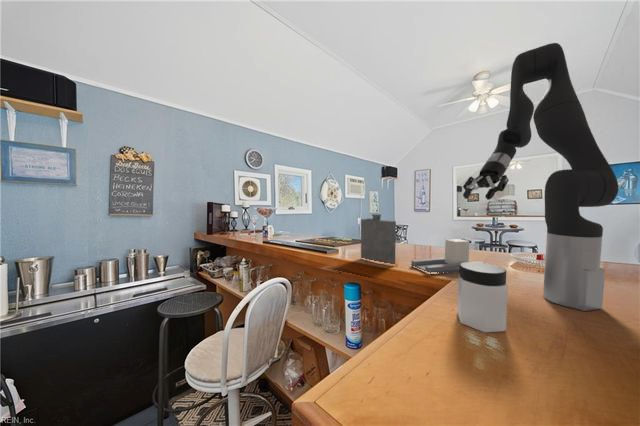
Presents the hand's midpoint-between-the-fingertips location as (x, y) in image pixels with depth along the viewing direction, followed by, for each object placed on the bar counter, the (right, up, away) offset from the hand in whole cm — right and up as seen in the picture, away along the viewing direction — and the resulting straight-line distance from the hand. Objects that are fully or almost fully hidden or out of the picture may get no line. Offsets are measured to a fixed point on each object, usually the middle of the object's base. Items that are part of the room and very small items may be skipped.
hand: (475, 197), depth 89 cm
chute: (-12, -27, -3) cm, 29 cm away
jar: (-26, -29, -40) cm, 56 cm away
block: (-9, -25, -2) cm, 27 cm away
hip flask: (-37, -26, +6) cm, 46 cm away
